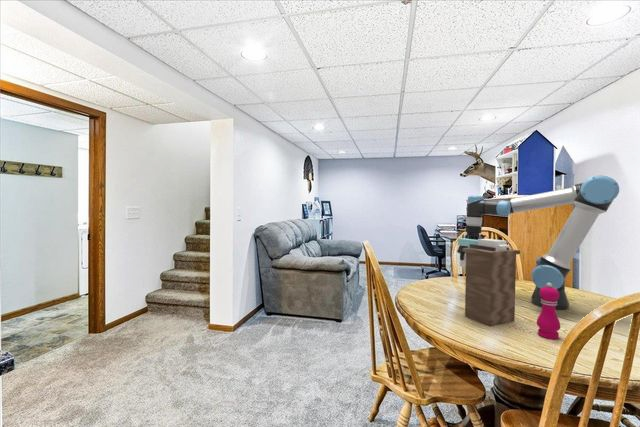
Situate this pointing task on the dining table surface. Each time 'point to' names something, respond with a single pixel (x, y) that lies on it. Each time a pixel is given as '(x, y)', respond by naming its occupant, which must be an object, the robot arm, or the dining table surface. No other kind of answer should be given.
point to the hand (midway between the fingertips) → (470, 265)
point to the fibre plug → (485, 243)
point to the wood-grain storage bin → (490, 284)
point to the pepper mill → (548, 313)
